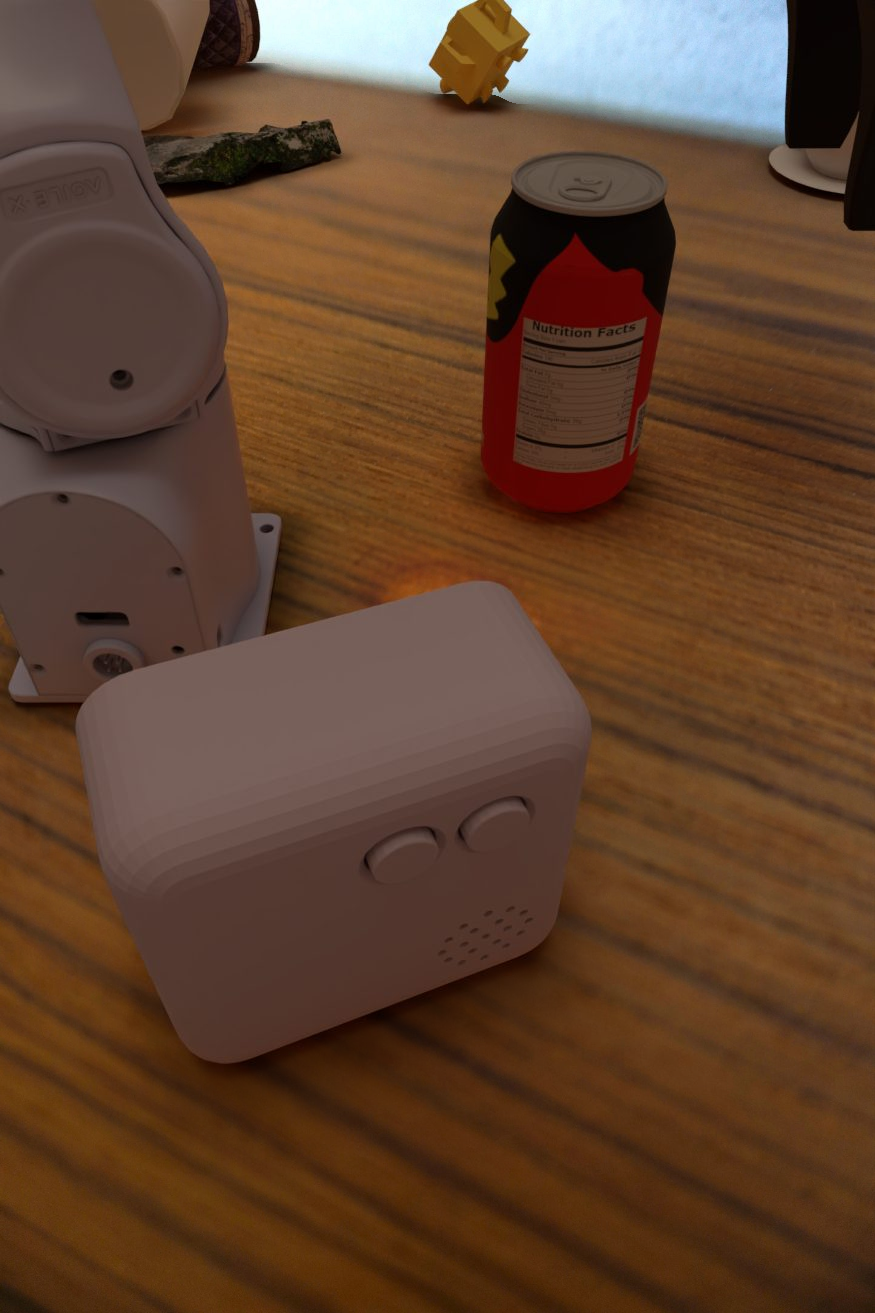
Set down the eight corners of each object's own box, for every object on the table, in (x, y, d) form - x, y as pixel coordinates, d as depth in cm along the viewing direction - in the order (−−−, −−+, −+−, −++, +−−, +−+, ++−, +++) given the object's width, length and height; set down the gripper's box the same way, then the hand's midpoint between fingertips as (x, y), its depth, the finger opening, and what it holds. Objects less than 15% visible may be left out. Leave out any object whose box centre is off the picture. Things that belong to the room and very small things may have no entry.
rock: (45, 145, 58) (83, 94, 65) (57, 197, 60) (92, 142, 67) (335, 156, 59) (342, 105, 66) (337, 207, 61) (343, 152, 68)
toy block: (499, 109, 78) (449, 58, 77) (555, 19, 71) (501, -37, 71) (451, 140, 73) (397, 86, 72) (507, 47, 67) (448, -13, 66)
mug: (133, 75, 72) (276, 58, 77) (101, -39, 69) (253, -49, 74) (96, 102, 80) (229, 85, 85) (67, 2, 77) (205, -9, 82)
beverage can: (644, 453, 42) (701, 157, 33) (612, 541, 38) (667, 230, 29) (505, 425, 43) (524, 134, 34) (459, 506, 39) (467, 200, 30)
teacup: (951, 176, 64) (981, 98, 60) (871, 216, 59) (898, 133, 56) (820, 135, 69) (840, 61, 66) (736, 169, 64) (753, 91, 61)
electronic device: (197, 1104, 23) (91, 889, 16) (160, 937, 26) (57, 690, 19) (572, 959, 26) (628, 717, 18) (499, 821, 29) (523, 566, 21)
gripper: (1323, -349, 21) (1036, 271, 31) (1028, -352, 31) (884, 115, 41) (997, -350, 21) (815, 271, 30) (807, -353, 31) (716, 116, 40)
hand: (841, 183), depth 36 cm, fingers open, 7 cm apart
